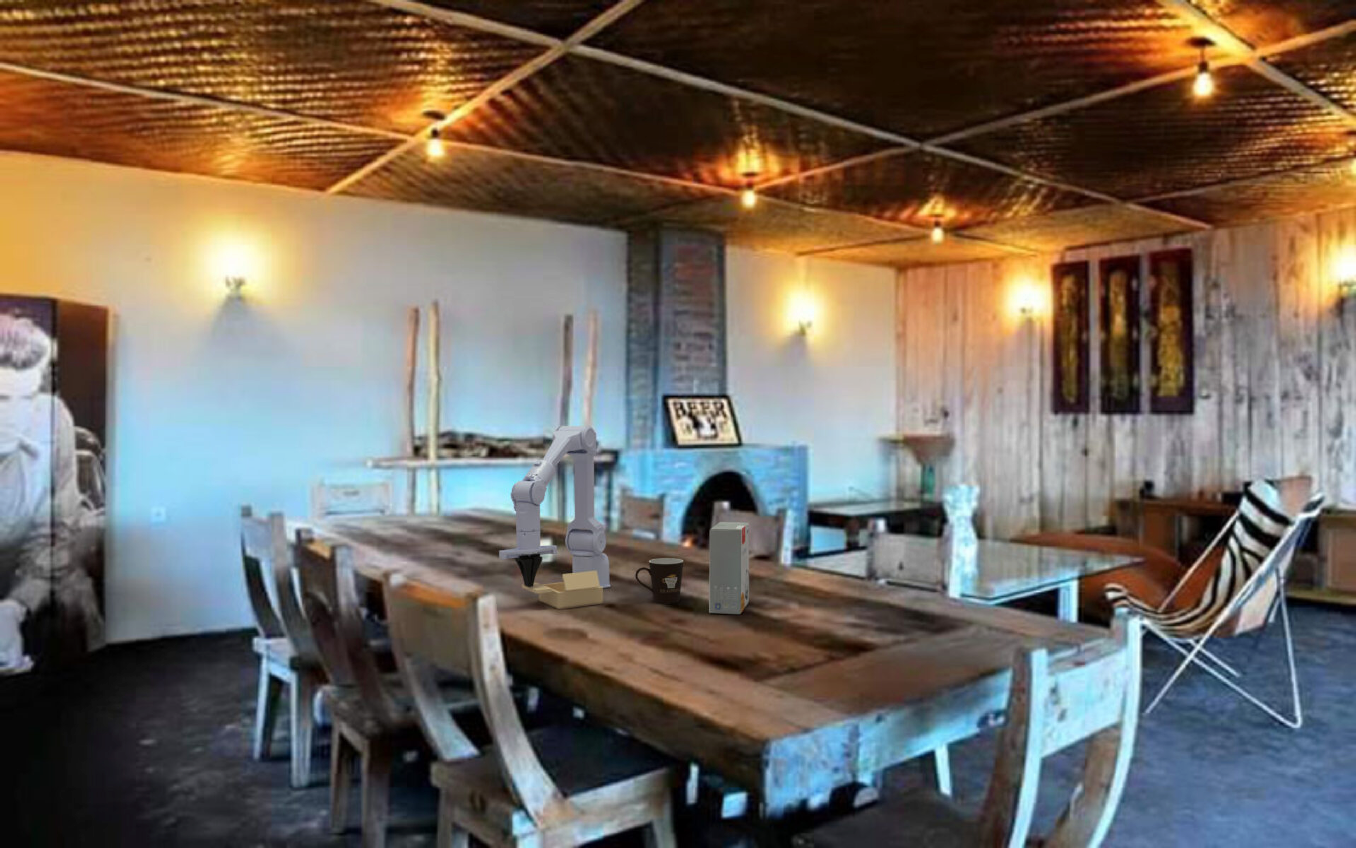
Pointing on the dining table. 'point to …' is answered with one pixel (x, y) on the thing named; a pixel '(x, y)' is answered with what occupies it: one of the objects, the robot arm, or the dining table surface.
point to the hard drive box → (729, 568)
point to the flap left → (580, 580)
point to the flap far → (537, 588)
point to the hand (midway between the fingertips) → (528, 586)
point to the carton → (571, 596)
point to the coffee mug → (664, 579)
